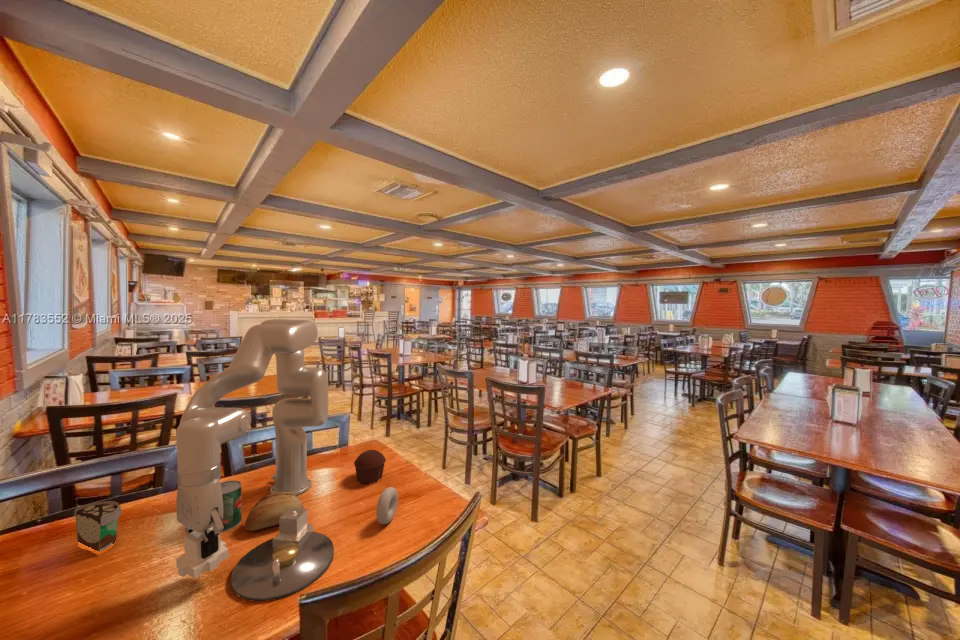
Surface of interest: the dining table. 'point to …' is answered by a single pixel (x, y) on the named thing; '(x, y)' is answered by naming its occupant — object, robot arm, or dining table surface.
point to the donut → (387, 505)
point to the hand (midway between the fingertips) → (202, 549)
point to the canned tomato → (231, 504)
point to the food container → (97, 524)
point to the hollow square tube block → (199, 555)
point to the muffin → (369, 466)
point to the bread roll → (271, 510)
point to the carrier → (283, 561)
